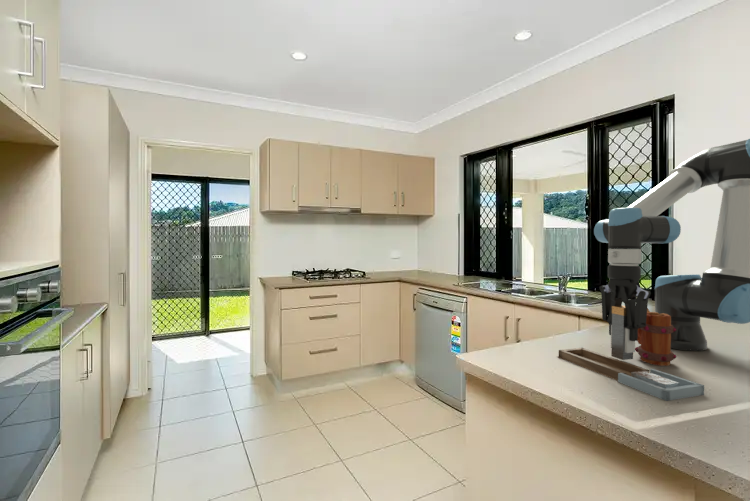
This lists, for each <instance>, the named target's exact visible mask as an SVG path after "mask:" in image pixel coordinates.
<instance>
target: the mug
mask: <svg viewBox="0 0 750 501" xmlns="http://www.w3.org/2000/svg"><path fill="white" fill-rule="evenodd" d="M675 331H676V328H674V327H673V325H671V316H670V315H668V314H664V313H661V314H659V313H657V312H655V311H650V309H649V308H648V307H647V317H646V327H643V328H639V329H638V339H637V341H636V342H637V343H638V345H639V346H635V353H637V354H638V356H639V358H640V361H641V362H644V363H648V364H650V365H654V366H661V367H663V366H666V367H669V366H670V365H671V362H672V361H674V360H675V359H676V358H677V355H676V354H675V353H674V352H673V351H672V350H671V349H672V348H671V333H673V332H675Z"/></svg>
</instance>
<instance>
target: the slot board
mask: <svg viewBox="0 0 750 501" xmlns="http://www.w3.org/2000/svg"><path fill="white" fill-rule="evenodd" d="M556 358H559V359H561V360H564V361H566V362H569V363H571V364H574V365H576V366H579V367H581V368H584V369H586V370H589V371H591V372H595V373H596V374H599V375H602V376H604V377H607V378H609V379H611V380H612V379H613V380H615V381H617V382H618V373H623V374H626V375H629V376H631V372H638V371H647V372H649V373H650V369H648V368H645V367H641V366H638V365H636V364H632V363H630V362H626V361H625V360H621V359H618V358H615V357H612V356H608V355H605V354H602V353H600V352H595V351H593V350H590V349H587V348H584V347H577V348H565V349H559V350H558V355H557V356H556Z"/></svg>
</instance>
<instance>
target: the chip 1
mask: <svg viewBox="0 0 750 501" xmlns="http://www.w3.org/2000/svg"><path fill="white" fill-rule="evenodd" d="M631 376H632V377H634V378H637V379H640V380H643V381H645V382H647V379H648V378H653V377H661V376H658V375H655V374H652V373H650V371H649V372H647V371H638V372H631Z"/></svg>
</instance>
